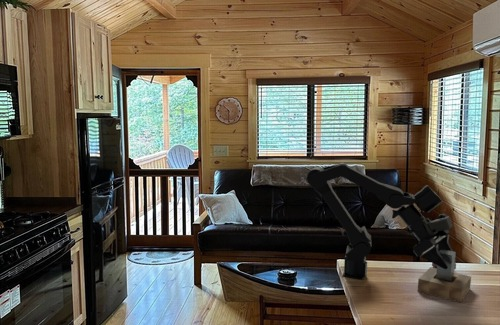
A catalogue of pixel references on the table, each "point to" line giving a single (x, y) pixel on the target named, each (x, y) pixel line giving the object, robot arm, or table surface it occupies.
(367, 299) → the table surface
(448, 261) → the grey rectangular block
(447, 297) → the brown square wooden frame
